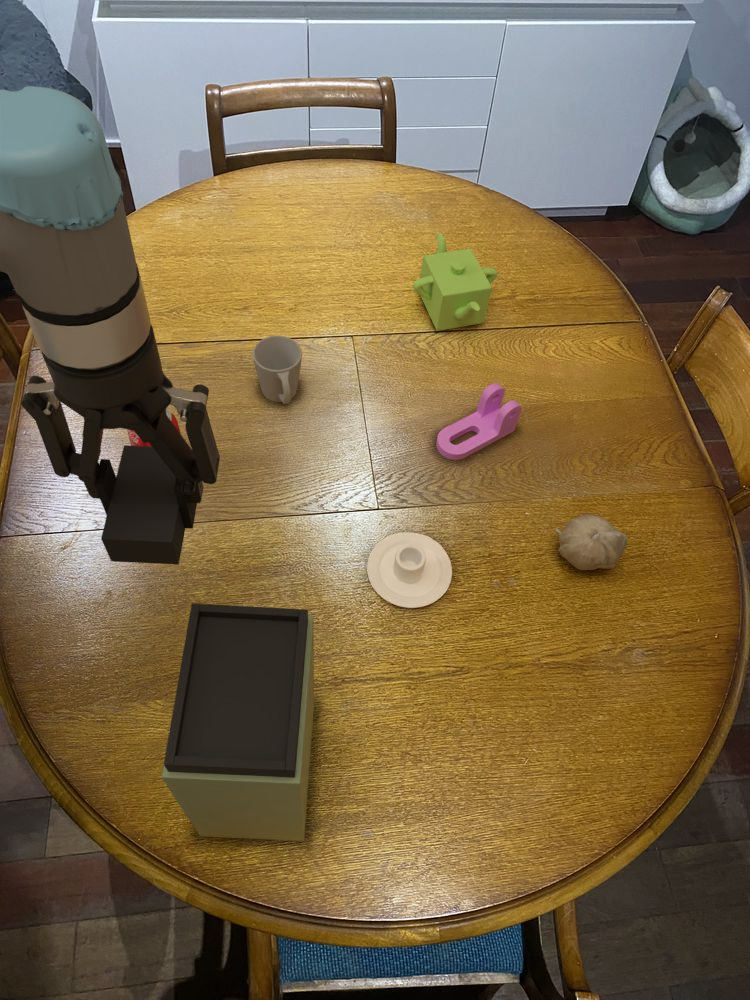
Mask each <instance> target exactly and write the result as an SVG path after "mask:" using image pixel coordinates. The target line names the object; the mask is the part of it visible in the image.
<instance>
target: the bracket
mask: <svg viewBox="0 0 750 1000" xmlns="http://www.w3.org/2000/svg"><path fill="white" fill-rule="evenodd" d="M505 392H506V390H505V388H504V387H503V386H502V385H501V384H500V383H499V382H493V383H490V384H489V385H488V386H487V387H486V388H484V390H483V391H482V392H481V394H480V397H479V401H478V405H477V409H476V411H475V412H473V413H470V414H469V415H467V416H465V417H463V418H461V419H460V420H458V421H456V422H454V423H451V424H449V425H448V426H446V427H444V428H442V429H441V430H440V431H439V432H438V434H437V436H436V437H437V438H436V442H435V443H436V444H435V447H436V450H437V451H438V453H439V454H440V455H441V456H442V457H444V458H446V459H448V460H454V461H459V460H462V459H465V458H466V457H469V456H470V455H472V454H475V453H476V452H478V451H480V450H482V449H484V448H486V447H487V446H490V445H491V444H493V443H495V442H496V441H498V440H501V439H502V438H504V437H507V435H509V434H511V433H514V432H515V431H516V428H517V424H518V423H519V419H520V416H521V413H522V410H523V407H522V406H521V405H520V404H519V403H518V402H517V401H516V400H515V399H511V400H509V401H507V402H506V403H505V404H503V406H502V407H501V405H502V403H503V400H504V396H505ZM469 432H474V433H476V434H475V435H473V436H471V437H469V438H467V439H466V440H464V441H462V442H460V443H458V444H453V443H451V442H452V441H454V440H456V439H458V438H460V437H462V436H464V435H466V434H467V433H469Z"/></svg>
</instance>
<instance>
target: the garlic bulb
mask: <svg viewBox="0 0 750 1000" xmlns="http://www.w3.org/2000/svg"><path fill="white" fill-rule="evenodd" d="M554 533H555V534H557V535H558V542H559V548H558V550H557V551H558V552H559V553H560V556H561V557H562V558H564V559H565V560H566V561H567V562H568V563H569V564H570V565H572V566H573V567H575V568H576V569H578V570H581V571H588V570H589V571H594V570H596V569H605V570H607V569H609V570H610V569H613V568H615V567H616V566H617V565H616V563H618V561H619V560H620V559H621V558H622V556H623V554H624V552H625V550H626V547H627V544H628V537H627V535H626V534H625V533H623V532H622V531H620V529H619V528H615V527H614V526H613V525H612V523H611V522H610V521H609V520H607V519H606V518H604V517H602V516H600V515H598V514H592V513H591V514H590V513H584V514H581V515H578V516H576V517H575V518H573V519H570V520H568V521H567V522H566V523H565V524H564V527H563V530H562V531H561V530H560V529H559V527H557V526H556V527H555V528H554Z"/></svg>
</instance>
